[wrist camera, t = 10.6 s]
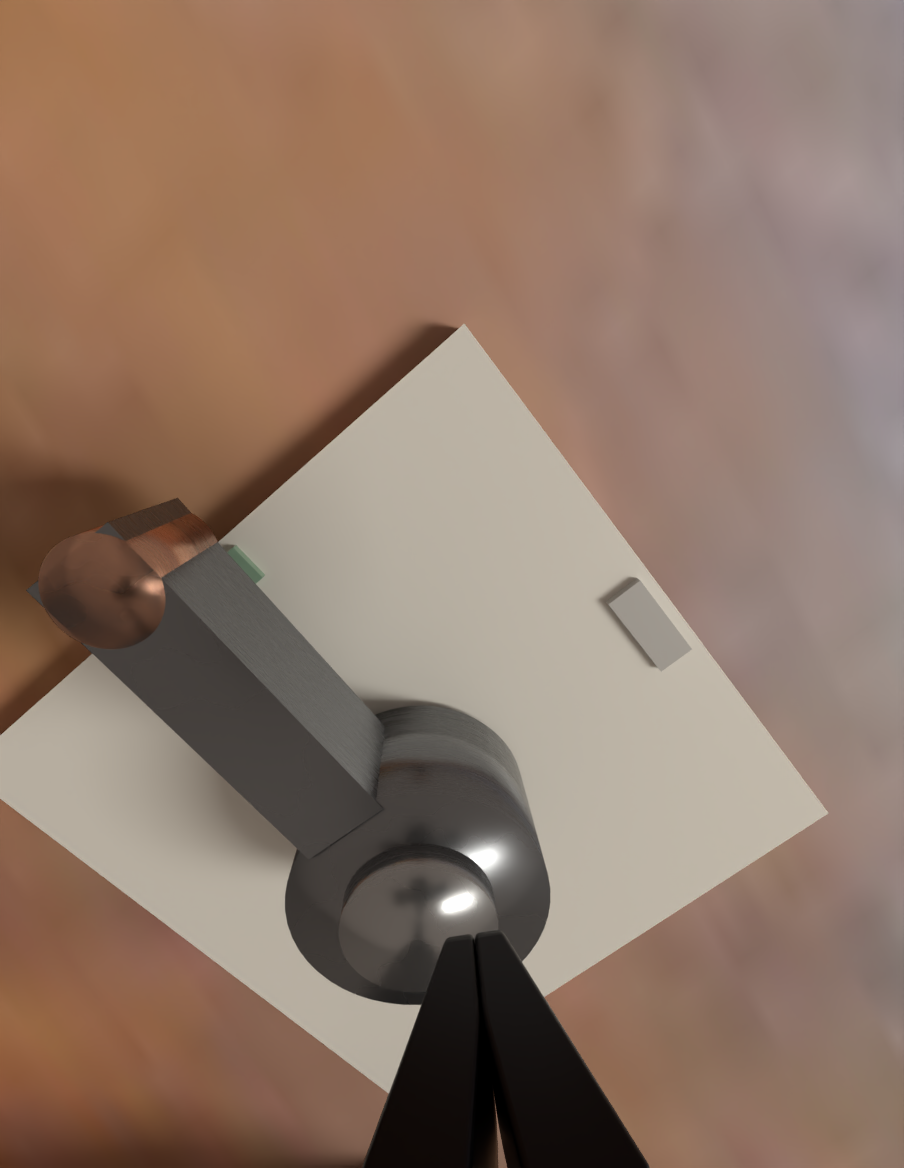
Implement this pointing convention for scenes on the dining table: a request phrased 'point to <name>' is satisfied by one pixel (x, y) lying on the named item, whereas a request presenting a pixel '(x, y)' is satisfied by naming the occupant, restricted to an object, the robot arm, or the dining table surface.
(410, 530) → the plate
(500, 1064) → the robot arm
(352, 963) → the lever
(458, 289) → the dining table surface
